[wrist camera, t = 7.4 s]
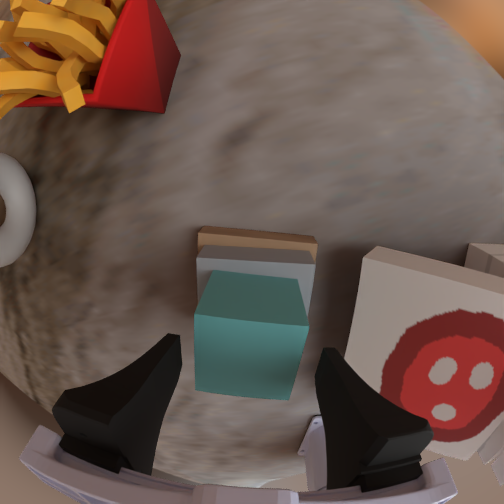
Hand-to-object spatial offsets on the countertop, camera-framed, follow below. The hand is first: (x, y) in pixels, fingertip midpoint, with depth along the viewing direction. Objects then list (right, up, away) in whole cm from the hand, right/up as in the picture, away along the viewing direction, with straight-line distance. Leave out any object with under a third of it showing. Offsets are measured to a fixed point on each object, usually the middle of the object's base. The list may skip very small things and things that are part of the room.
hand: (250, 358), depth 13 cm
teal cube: (0, +2, +4) cm, 4 cm away
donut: (-21, +11, +7) cm, 24 cm away
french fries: (-7, +17, +4) cm, 19 cm away
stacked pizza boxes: (+22, -1, +9) cm, 24 cm away
